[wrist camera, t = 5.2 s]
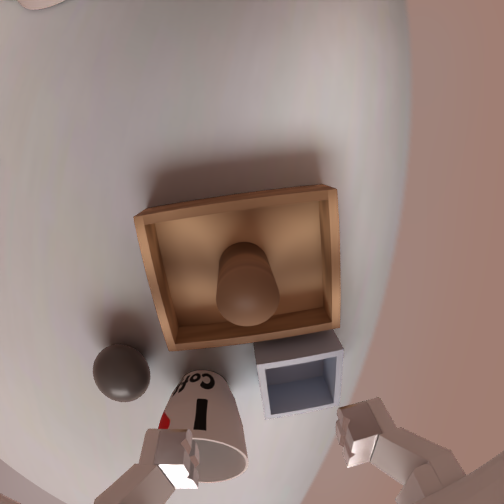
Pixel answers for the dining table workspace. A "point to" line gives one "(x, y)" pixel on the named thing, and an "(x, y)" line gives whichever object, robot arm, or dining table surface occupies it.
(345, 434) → the robot arm
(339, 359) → the pen pot
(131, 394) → the dark gray ball
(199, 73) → the dining table surface
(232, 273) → the walnut peg
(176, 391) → the cup
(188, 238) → the oak tray
